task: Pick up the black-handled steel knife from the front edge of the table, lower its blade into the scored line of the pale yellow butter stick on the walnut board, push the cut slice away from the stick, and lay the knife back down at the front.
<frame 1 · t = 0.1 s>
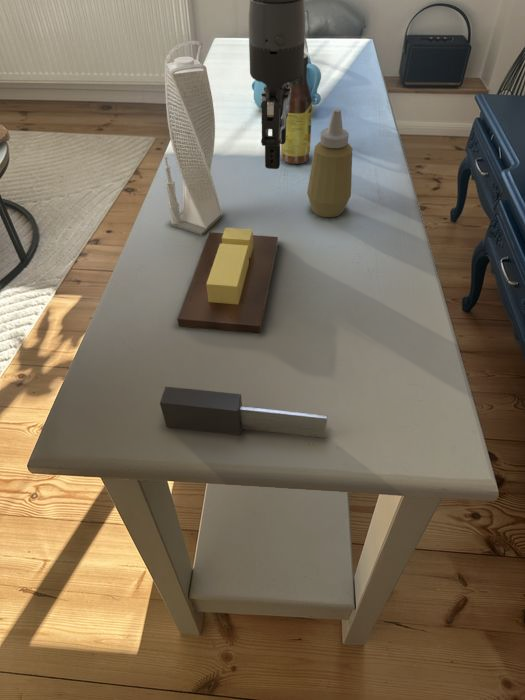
hand: (275, 155, 77), 14 cm above the table, tool pointing down, fingers open, 8 cm apart
butter: (229, 282, 74), point 1 cm above the table, touching board
decorative pot: (285, 109, 124), on the table
board: (232, 281, 77), on the table
squeeze bottle: (327, 210, 91), on the table
butter slice: (238, 251, 80), point 1 cm above the table, touching board
knife: (241, 427, 58), on the table
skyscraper: (201, 220, 89), on the table
spoon rest: (292, 68, 145), on the table
sauce bottle: (294, 159, 105), on the table
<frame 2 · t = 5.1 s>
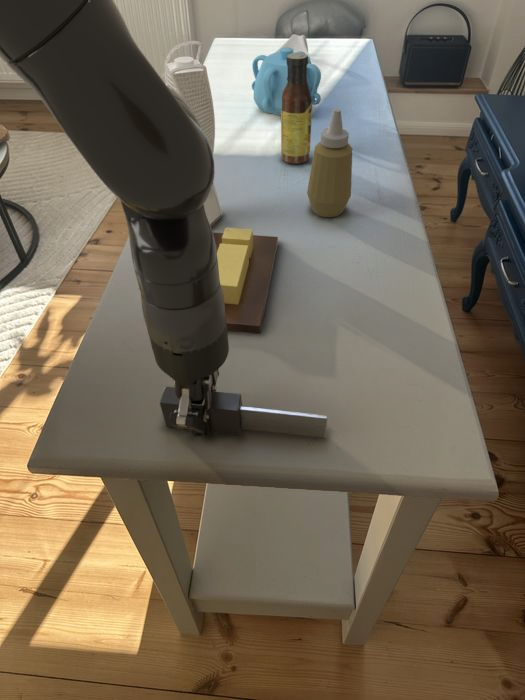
hand: (204, 422, 58), 0 cm above the table, tool pointing down, fingers closed on knife, 2 cm apart
knife: (241, 427, 58), on the table, touching gripper
everything else where it was.
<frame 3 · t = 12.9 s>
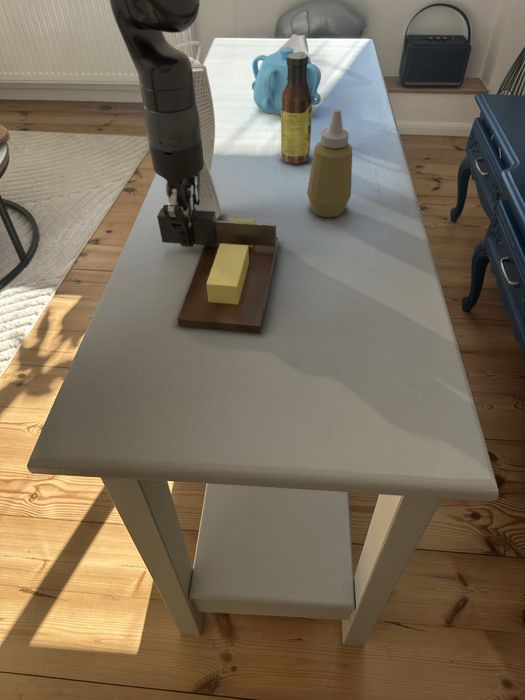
hand: (189, 239, 81), 2 cm above the table, tool pointing down, fingers closed on knife, 2 cm apart
butter slice: (241, 241, 82), point 2 cm above the table, touching board
knife: (216, 241, 80), point 2 cm above the table, touching gripper
everything else where it was.
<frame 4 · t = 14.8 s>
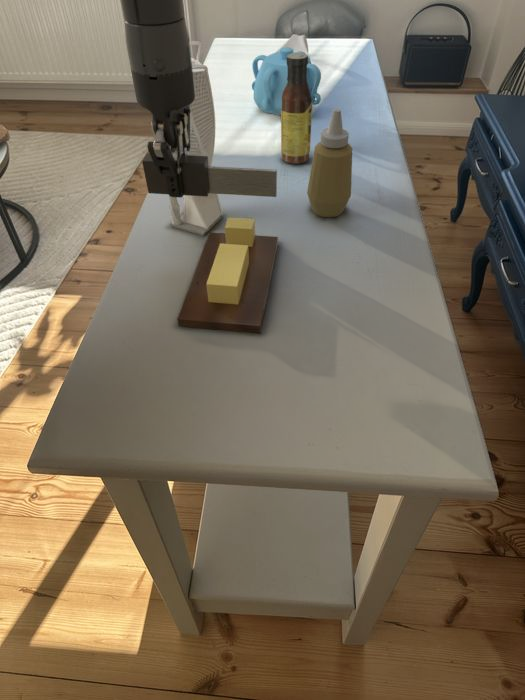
hand: (179, 190, 72), 12 cm above the table, tool pointing down, fingers closed on knife, 2 cm apart
knife: (209, 192, 71), point 12 cm above the table, touching gripper
everything else where it was.
when the fingers open (0 cm above the table, at t = 20.5 s): knife stays where it is, on the table.
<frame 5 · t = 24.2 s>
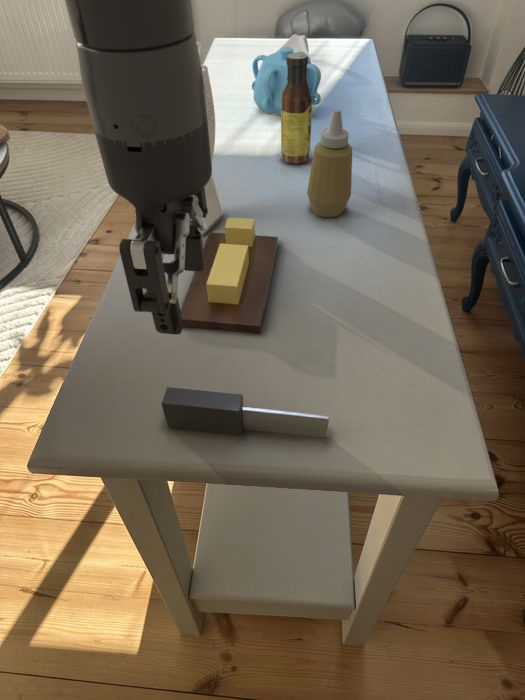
hand: (182, 298, 44), 20 cm above the table, tool pointing down, fingers open, 8 cm apart
knife: (243, 427, 58), on the table
everything else where it was.
at the end: butter slice moved 3.1 cm from its start; butter moved 0.0 cm from its start; knife inside the target area (0.2 cm from its centre), on the table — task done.
